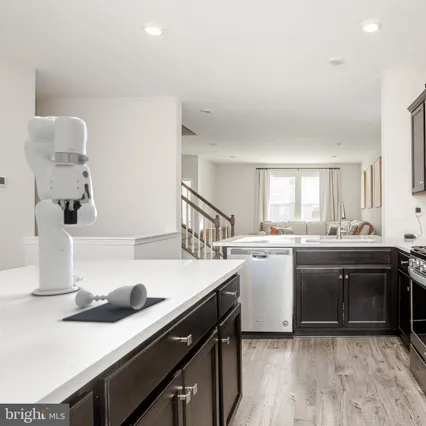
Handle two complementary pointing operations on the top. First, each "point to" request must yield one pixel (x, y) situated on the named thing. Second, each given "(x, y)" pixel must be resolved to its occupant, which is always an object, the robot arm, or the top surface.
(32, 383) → the top surface
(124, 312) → the mat
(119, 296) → the chalice
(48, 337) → the top surface
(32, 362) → the top surface
